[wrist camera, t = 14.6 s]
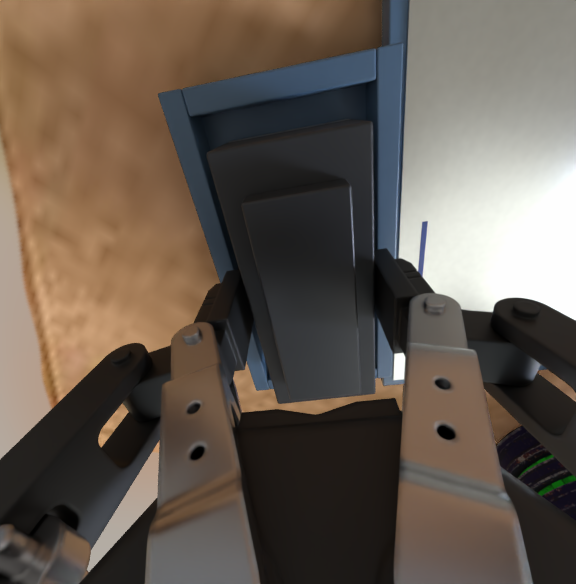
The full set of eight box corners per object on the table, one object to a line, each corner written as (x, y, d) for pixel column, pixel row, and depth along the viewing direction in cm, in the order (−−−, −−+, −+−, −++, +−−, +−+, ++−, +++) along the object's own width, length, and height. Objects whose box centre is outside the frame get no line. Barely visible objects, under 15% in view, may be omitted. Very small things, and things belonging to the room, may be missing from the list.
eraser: (229, 141, 11) (195, 156, 7) (347, 118, 11) (383, 120, 7) (280, 347, 17) (277, 422, 13) (358, 338, 16) (381, 411, 12)
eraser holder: (182, 97, 11) (156, 93, 9) (380, 56, 11) (404, 41, 8) (260, 358, 19) (256, 391, 17) (379, 345, 18) (391, 377, 16)
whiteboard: (381, -50, 9) (391, -68, 8) (935, -184, 8) (1024, -224, 7) (379, 374, 20) (383, 387, 19) (617, 349, 18) (635, 362, 17)
